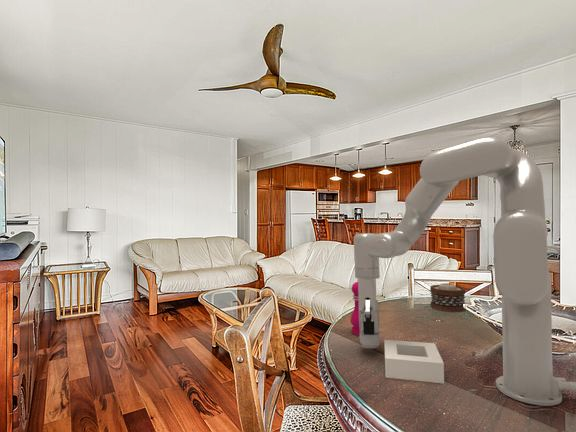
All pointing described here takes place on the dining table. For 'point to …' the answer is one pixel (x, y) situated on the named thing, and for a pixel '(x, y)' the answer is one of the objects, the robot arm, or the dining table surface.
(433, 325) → the dining table surface
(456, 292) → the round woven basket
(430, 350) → the socket block
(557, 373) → the dining table surface
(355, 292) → the pepper mill
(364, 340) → the energy drink can
